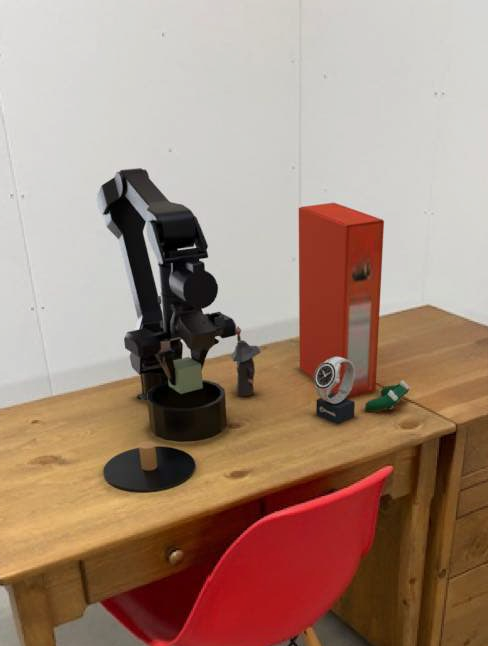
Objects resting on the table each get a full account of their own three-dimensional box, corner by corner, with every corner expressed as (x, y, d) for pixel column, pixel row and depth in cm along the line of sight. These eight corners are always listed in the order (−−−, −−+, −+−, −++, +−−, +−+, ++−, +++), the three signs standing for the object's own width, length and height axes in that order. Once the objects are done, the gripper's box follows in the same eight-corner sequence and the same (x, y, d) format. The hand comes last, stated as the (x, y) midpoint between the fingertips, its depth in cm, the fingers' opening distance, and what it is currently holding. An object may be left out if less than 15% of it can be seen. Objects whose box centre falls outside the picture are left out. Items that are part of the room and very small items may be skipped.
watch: (308, 418, 146) (309, 360, 140) (339, 405, 150) (341, 349, 144) (330, 427, 142) (331, 369, 136) (361, 414, 147) (363, 357, 141)
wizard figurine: (266, 395, 155) (265, 335, 148) (242, 402, 152) (240, 341, 145) (242, 382, 160) (240, 323, 154) (219, 388, 158) (216, 329, 151)
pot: (135, 430, 142) (131, 396, 139) (188, 405, 151) (186, 373, 147) (189, 451, 135) (186, 416, 131) (242, 424, 144) (240, 391, 140)
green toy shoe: (373, 422, 148) (396, 406, 144) (361, 406, 147) (384, 389, 143) (393, 404, 154) (415, 388, 150) (381, 389, 154) (403, 372, 150)
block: (180, 394, 136) (178, 369, 134) (168, 386, 139) (166, 362, 137) (202, 388, 138) (201, 364, 136) (190, 380, 141) (188, 356, 139)
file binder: (339, 399, 153) (345, 224, 135) (298, 369, 165) (298, 206, 148) (375, 391, 155) (385, 219, 138) (332, 363, 168) (336, 202, 151)
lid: (85, 476, 128) (80, 448, 125) (152, 443, 138) (149, 416, 135) (147, 505, 120) (144, 476, 118) (214, 469, 130) (212, 441, 127)
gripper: (149, 315, 120) (158, 410, 128) (252, 293, 128) (255, 384, 137) (117, 297, 127) (128, 388, 136) (217, 278, 136) (221, 364, 145)
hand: (185, 381), depth 138 cm, fingers closed on block, 4 cm apart
